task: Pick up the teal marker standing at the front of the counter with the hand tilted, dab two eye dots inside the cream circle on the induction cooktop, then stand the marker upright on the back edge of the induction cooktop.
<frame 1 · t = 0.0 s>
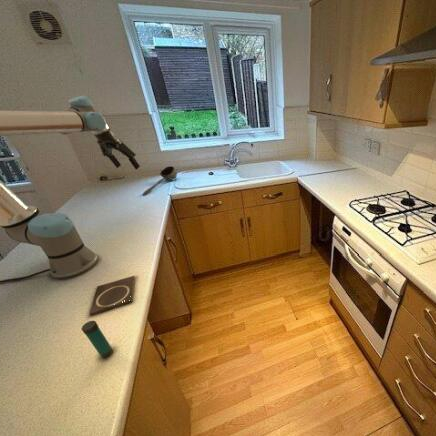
hand: (128, 167, 132), 28 cm above the worktop, tool tilted 20°, fingers open, 13 cm apart
marker: (107, 353, 67), on the worktop
induction cooktop: (114, 295, 86), on the worktop
ladle: (160, 186, 185), on the worktop
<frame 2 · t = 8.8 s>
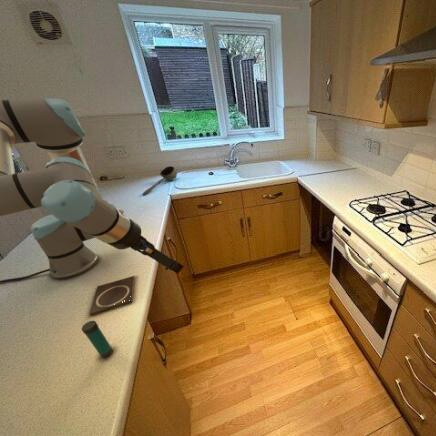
hand: (165, 259, 77), 17 cm above the worktop, tool tilted 30°, fingers open, 13 cm apart
nothing on the worktop moved.
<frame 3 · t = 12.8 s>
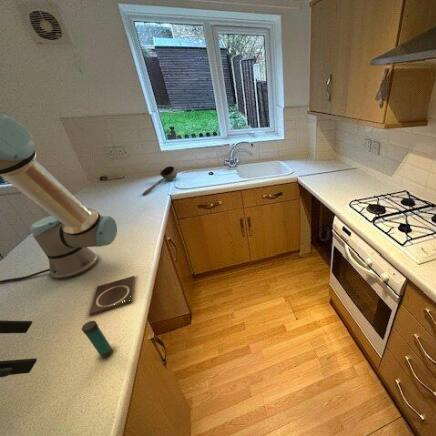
hand: (31, 344, 54), 15 cm above the worktop, tool tilted 45°, fingers open, 13 cm apart
nothing on the worktop moved.
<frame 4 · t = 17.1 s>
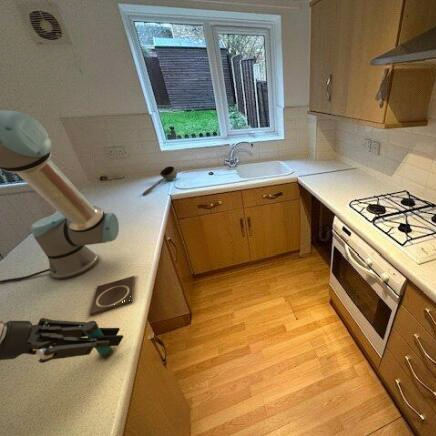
hand: (118, 336, 68), 3 cm above the worktop, tool tilted 45°, fingers closed on marker, 3 cm apart
marker: (107, 353, 67), on the worktop, touching gripper
everything else where it was.
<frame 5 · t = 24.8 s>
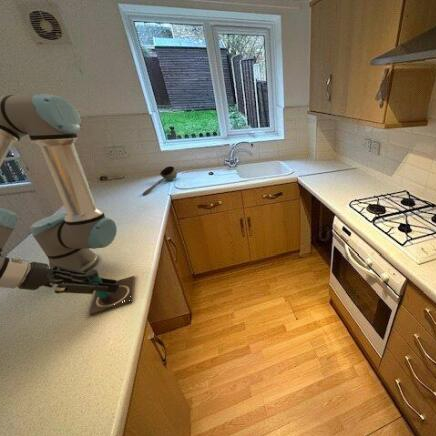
hand: (115, 286, 84), 4 cm above the worktop, tool tilted 45°, fingers closed on marker, 3 cm apart
marker: (105, 298, 83), point 1 cm above the worktop, touching induction cooktop, gripper
everything else where it was.
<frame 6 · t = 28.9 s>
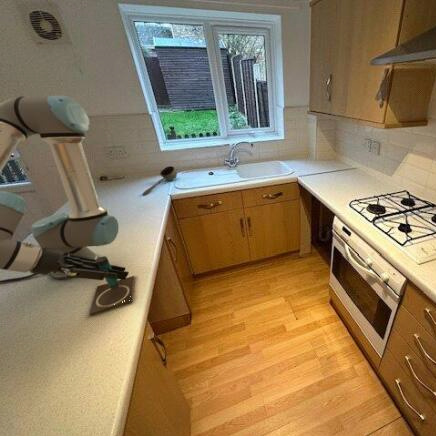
hand: (124, 273, 84), 8 cm above the worktop, tool tilted 45°, fingers closed on marker, 3 cm apart
marker: (115, 286, 83), point 5 cm above the worktop, touching gripper
everything else where it was.
when the fingers open (4 cm above the worktop, at t = 32.3 s): marker stays where it is, resting on induction cooktop.
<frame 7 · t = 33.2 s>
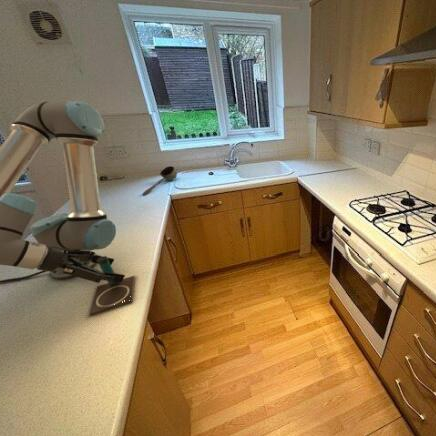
hand: (117, 270, 89), 6 cm above the worktop, tool tilted 45°, fingers open, 13 cm apart
marker: (114, 284, 90), point 1 cm above the worktop, touching induction cooktop
everything else where it was.
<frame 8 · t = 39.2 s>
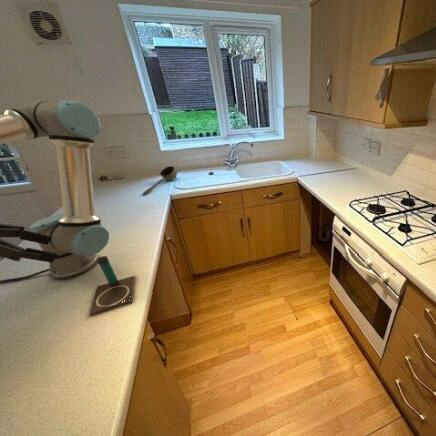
hand: (52, 248, 73), 23 cm above the worktop, tool tilted 45°, fingers open, 13 cm apart
nothing on the worktop moved.
at the end: marker inside the target area on the induction cooktop (1.0 cm from its centre), point 1.1 cm above the induction cooktop's base; marker tilted 2°; the gripper is holding nothing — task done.
